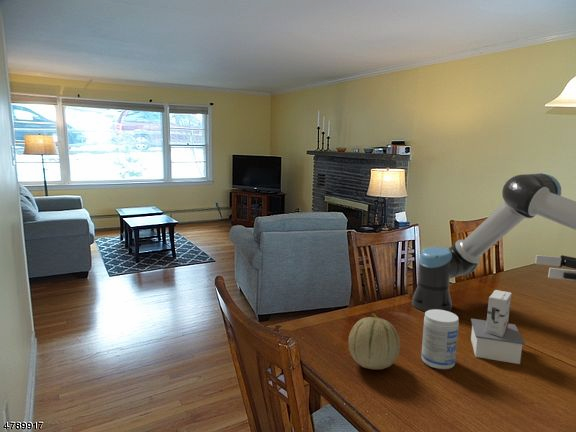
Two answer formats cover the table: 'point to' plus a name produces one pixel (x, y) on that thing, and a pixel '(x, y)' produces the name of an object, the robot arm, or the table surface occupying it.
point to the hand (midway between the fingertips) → (541, 265)
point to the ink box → (498, 313)
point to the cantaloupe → (374, 343)
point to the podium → (496, 343)
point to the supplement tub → (440, 338)
